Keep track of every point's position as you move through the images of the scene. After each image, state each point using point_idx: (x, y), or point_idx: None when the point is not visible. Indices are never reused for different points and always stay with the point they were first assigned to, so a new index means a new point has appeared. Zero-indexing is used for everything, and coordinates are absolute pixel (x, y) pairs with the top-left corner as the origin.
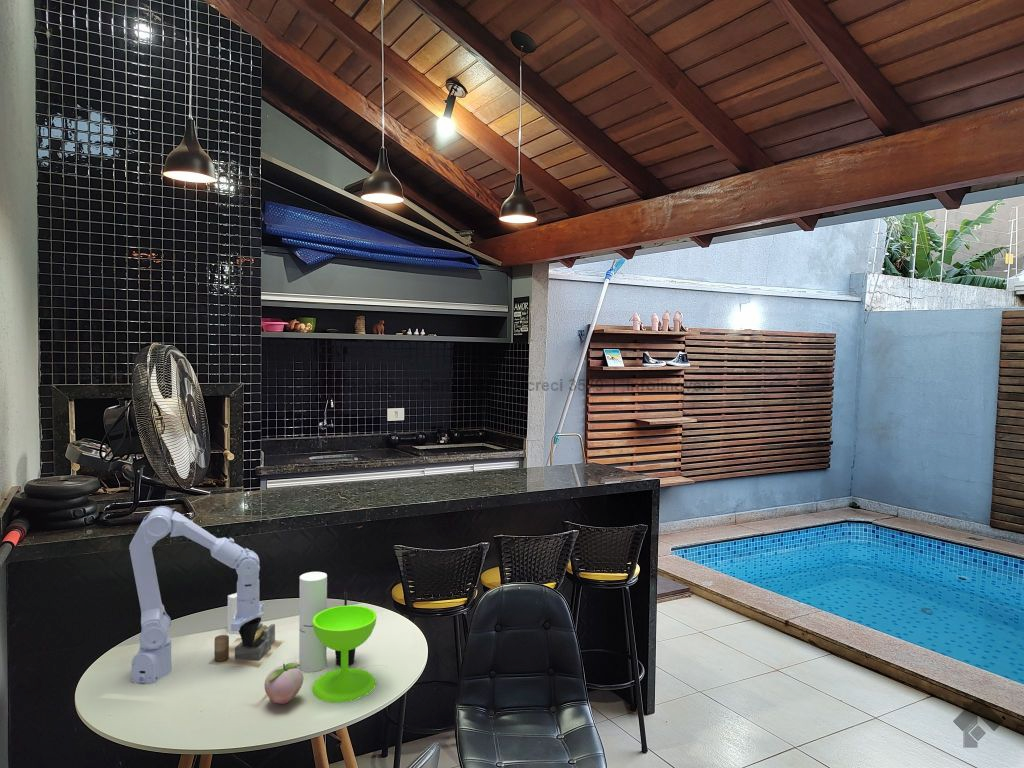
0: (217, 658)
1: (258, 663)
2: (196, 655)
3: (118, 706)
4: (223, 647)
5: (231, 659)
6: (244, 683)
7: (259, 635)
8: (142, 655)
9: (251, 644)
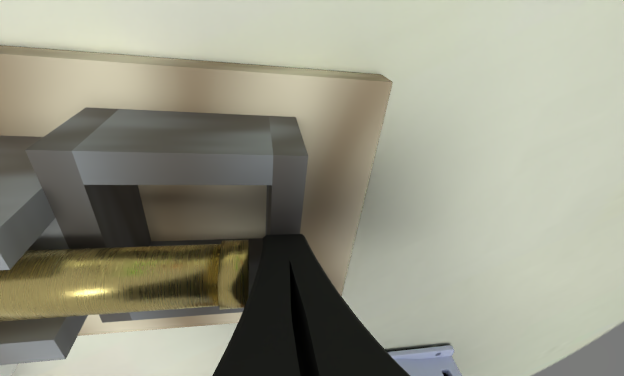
0: None
1: (335, 106)
2: None
3: (518, 356)
4: None
5: None
6: (505, 100)
7: (102, 262)
8: None
9: (301, 243)
